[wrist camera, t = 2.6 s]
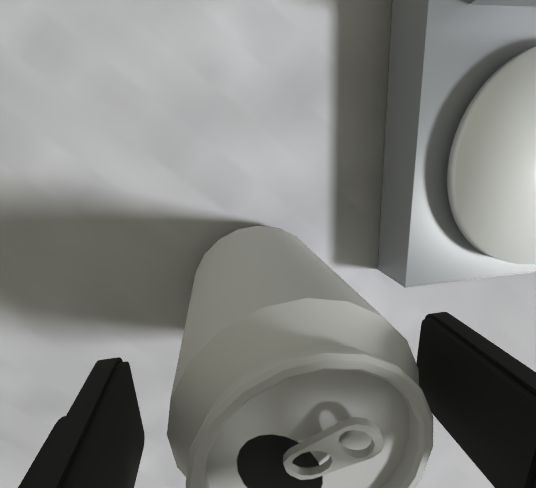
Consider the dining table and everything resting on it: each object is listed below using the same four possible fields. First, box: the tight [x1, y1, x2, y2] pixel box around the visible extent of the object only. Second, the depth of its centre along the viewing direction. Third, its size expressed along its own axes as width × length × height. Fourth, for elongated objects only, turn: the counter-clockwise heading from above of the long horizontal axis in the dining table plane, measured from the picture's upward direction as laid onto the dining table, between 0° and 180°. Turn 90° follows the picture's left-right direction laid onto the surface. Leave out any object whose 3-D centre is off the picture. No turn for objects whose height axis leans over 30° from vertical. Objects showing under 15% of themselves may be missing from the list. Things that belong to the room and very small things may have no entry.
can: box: [167, 226, 433, 488], centre depth 13 cm, size 8×8×12 cm
